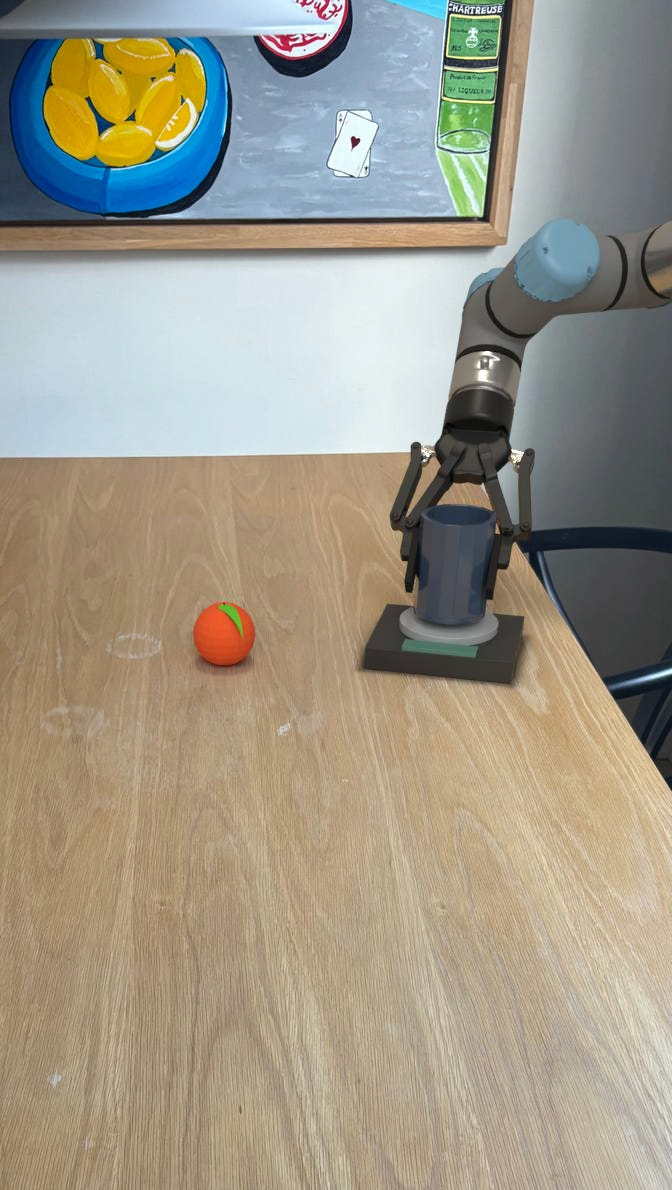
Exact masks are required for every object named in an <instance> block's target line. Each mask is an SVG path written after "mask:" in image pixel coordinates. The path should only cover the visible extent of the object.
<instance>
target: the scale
mask: <svg viewBox="0 0 672 1190" xmlns="http://www.w3.org/2000/svg"><path fill="white" fill-rule="evenodd" d="M524 624H525V615H516V614H505V613H493V612H490V611H488V610H486V615H485V616H484V617H483V618H482V619H481V620H479V621H476V622H473V623H468V624H456V625H452V624H440V623H434V622H430V621H427V620H424V619H422V618H420V617H418V616H417V615H416V614H415V613H414V605H407V604H397V603H396V604H395V603H394V604H393V603H387V604H386V605H385V607H384V609H383V611H382V613H381V615H380V617H379V619H378V621H377V623H376V625H375V626H374V629H373V630H372V633H371V635H370V637H369V639H368V641H367V642H366V645H365V647H364V658H363V669H369V670H378V671H386V672H387V671H388V672H397V673H406V674H415V675H424V676H434V677H444V678H452V679H460V680H461V679H462V680H471V681H472V680H473V681H480V682H490V683H501V684H512V680H513V676H514V671H515V668H516V663H517V659H518V655H519V650H520V646H521V642H522V638H523V633H524V626H525V625H524Z"/></svg>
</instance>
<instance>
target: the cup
mask: <svg viewBox="0 0 672 1190" xmlns="http://www.w3.org/2000/svg"><path fill="white" fill-rule="evenodd" d="M496 530H497V515H496V514H495V513H494V512H493V510H492V509H490V508H487V507H484V506H480V505H473V504H465V503H443V504H437V505H436V506H431V507H429V508H426V509H424V510H423V511H422V513H421V518H420V530H419V543H418V555H417V567H416V576H415V582H414V591H413V592H414V593H413V604H412V606H414V613H415V614H416V615H417V616H418V617H420V618H422V619H424V620H427V621H430V622H434V623H440V624H452V625H456V624H468V623H473V622H476V621H479V620H481V619H482V618H483V617H484V616H485V615H486V611H487V608H488V602H489V600H486V584H487V578H488V572H489V566H490V560H491V554H492V548H493V542H494V536H495V533H496Z"/></svg>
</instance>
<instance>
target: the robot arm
mask: <svg viewBox="0 0 672 1190" xmlns="http://www.w3.org/2000/svg"><path fill="white" fill-rule="evenodd" d="M671 305H672V220H669V221H666V222H665V223H662V224H659V225H656V226H654V227H651V228H649V229H645V230H643V231H640V232H633V233H623V234H614V235H613V234H611V235H608V234H607V235H595V234H594V232H593V231H592V230H591V229H590V228H589V227H588V226H587V225H586V224H584V223H583V222H581V223H579V222H576V221H574V219H573V218H569V217H558V218H554V219H552V220H549V221H547V222H546V223H545V224H543V225H542V226H541V227H540V228H539V229H538V230H537V231H536V232H535V233H534V234H533V235H532V236H530V237H528V238H527V240H526V241H525V242H524V243H522V245H521V246H520V247H519V249H518V251H517V252H516V253H515V254H514V255H513V257H512V258H511V259H510V261H509V262H508V263H507V264H506V266H504V267H503V266H502V267H493V268H491V269H489V270H488V271H487V272H481V273H480V274H478V275H477V276H476V277H475V278H474V279H473V280H472V282H471V283H470V285H469V287H468V291H467V295H466V299H465V300H464V303H463V306H462V312H461V324H460V329H459V335H458V341H457V346H456V354H455V360H454V364H453V369H452V375H451V380H450V385H449V390H448V398H447V399H448V401H447V402H446V406H445V412H444V419H443V423H442V430H441V434H440V436H439V438H438V439H437V440H436V442H435V443H434V444H428V445H422V443H421V442H419V441H413V442H412V443H411V444H410V461H409V463H408V465H407V468H406V471H405V475H404V476H403V479H402V481H401V484H400V487H399V490H398V492H397V494H396V498H395V500H394V502H393V505H392V507H391V510H390V513H389V522H390V528H391V530H392V531H395V532H397V531H399V532H401V533H402V537H401V543H400V547H399V548H400V549H399V552H400V553H399V554H400V559H401V562H407V564H406V569H405V574H404V579H403V584H404V590H405V591H404V592H405V593H409V594H414V593H413V592H414V588H415V579H416V567H417V555H418V543H419V530H420V518H421V513H422V511H423V510H424V509H426V508H429V507H431V506H437V505H439V503H440V501H441V500H442V498H443V497H444V495H445V494H446V492H448V491H449V490H450V489H451V488H452V486H453V485H454V484H459V485H461V484H468V483H469V484H472V485H475V486H483V487H484V489H485V493H486V494H487V497H488V500H489V504H490V507H491V510H492V511H493V512H494V513H495V514H496V515H497V523H496V527H497V529H498V532H499V533H496V532H495V536H494V542H493V548H492V554H491V560H490V566H489V572H488V578H487V584H486V600H488V601H493V600H494V595H495V589H496V584H497V576H498V572H499V570H501V571H507V570H508V569H509V567H510V564H511V563H510V562H511V557H512V549H513V545H514V544H515V543H516V542H518V541H523V542H527V541H529V540H530V539H531V538H532V528H533V521H532V519H533V518H532V516H533V515H532V493H531V492H532V491H531V475H532V473H533V470H534V467H535V459H536V451H535V449H534V448H531V447H528V448H526V449H525V450H524V451H522V450H517V449H513V448H512V445H511V442H510V440H511V434H512V427H513V421H514V416H515V406H516V403H517V397H518V392H519V386H520V381H521V375H522V366H523V363H524V362H523V361H524V356H525V351H526V347H527V345H528V343H529V342H530V341H531V340H532V339H533V338H534V337H535V336H536V335H537V334H539V332H541V331H542V329H544V328H545V327H546V326H547V325H548V324H549V323H550V322H551V321H552V320H553V319H554V318H555V317H559V316H567V315H568V316H570V315H579V314H589V313H604V312H607V311H621V310H622V311H623V310H636V309H646V310H647V309H648V310H651V309H653V310H654V309H659V308H664V307H667V306H671ZM433 458H435V459H436V460H437V462H438V464H439V465H440V466H439V468H438V469H437V472H436V474H435V476H434V477H433V479H432V481H431V482H430V484H429V485H428V487H427V488H426V489H425V491H424V492H423V493H422V495H421V496H420V498H419V500H418V501H417V502H416V503H415V505H414V507H413V508H412V509H411V511H410V513H409V514H408V512H409V509H410V507H411V504H412V502H413V498H414V496H415V493H416V491H417V488H418V486H419V483H420V482H421V481H420V480H421V478H422V475H423V468H427V466H428V465H429V464H430V461H431V459H433ZM509 462H510V463H512V470H513V471H514V473H516V474H517V475H518V476H517V496H518V497H517V498H518V499H517V500H518V523H517V524H513V520H512V518H511V515H510V512H509V508H508V505H507V501H506V499H505V496H504V493H503V490H502V486H501V483H500V480H499V474H498V473H499V472H500V471H501V470H502V469H503V468H504V467H505V466H506V465H507V464H508V463H509ZM407 514H408V515H407Z"/></svg>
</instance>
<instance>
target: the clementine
mask: <svg viewBox="0 0 672 1190" xmlns="http://www.w3.org/2000/svg"><path fill="white" fill-rule="evenodd" d="M192 636H193V643H194V646H195V648H196V650H197V652H198V653H199V655H201V657H202V658H203V659H204V660H205V661H207V662H209V663H211V664H212V665H217V666H231V665H235V664H237V663H239V662H241V661H242V660H244V659H245V658H246V657H247V656H248V655H249V654H250V652H251V650H252V648H253V646H254V643H255V639H256V629H255V625H254V622H253V619H252V617H251V615H250V614H249V613H248V612H247V611H246V609H244V608H242V607H241V606H239V605H238V604H235V603H233V602H229V601H228V602H227V601H220V602H216V603H213V604H210V605H209V606H208V607H206V608H205V609H203V610H202V611H201V612H200V614H199V615H198V616H197V618H196V620H195V623H194V626H193V630H192Z"/></svg>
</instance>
